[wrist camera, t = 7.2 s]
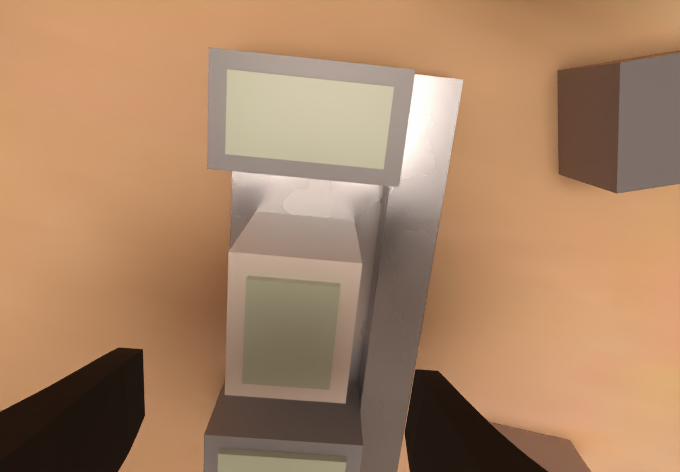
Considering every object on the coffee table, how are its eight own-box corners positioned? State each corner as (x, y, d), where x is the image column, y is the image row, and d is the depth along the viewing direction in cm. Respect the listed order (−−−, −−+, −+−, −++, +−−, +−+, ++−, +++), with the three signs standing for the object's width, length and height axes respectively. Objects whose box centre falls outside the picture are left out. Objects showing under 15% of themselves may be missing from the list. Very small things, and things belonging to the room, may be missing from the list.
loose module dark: (681, 154, 18) (774, 169, 14) (557, 173, 18) (616, 193, 14) (688, 49, 17) (792, 34, 13) (556, 70, 17) (620, 62, 13)
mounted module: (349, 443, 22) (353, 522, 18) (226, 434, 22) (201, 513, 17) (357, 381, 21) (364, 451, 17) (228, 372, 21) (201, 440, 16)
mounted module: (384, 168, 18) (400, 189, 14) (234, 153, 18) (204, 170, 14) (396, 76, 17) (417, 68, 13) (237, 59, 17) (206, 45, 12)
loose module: (342, 329, 20) (346, 409, 15) (251, 322, 19) (222, 400, 14) (354, 220, 18) (363, 266, 13) (256, 211, 18) (226, 255, 13)
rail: (390, 446, 22) (395, 479, 20) (226, 434, 22) (215, 467, 20) (448, 81, 17) (463, 79, 15) (237, 59, 17) (224, 54, 15)
